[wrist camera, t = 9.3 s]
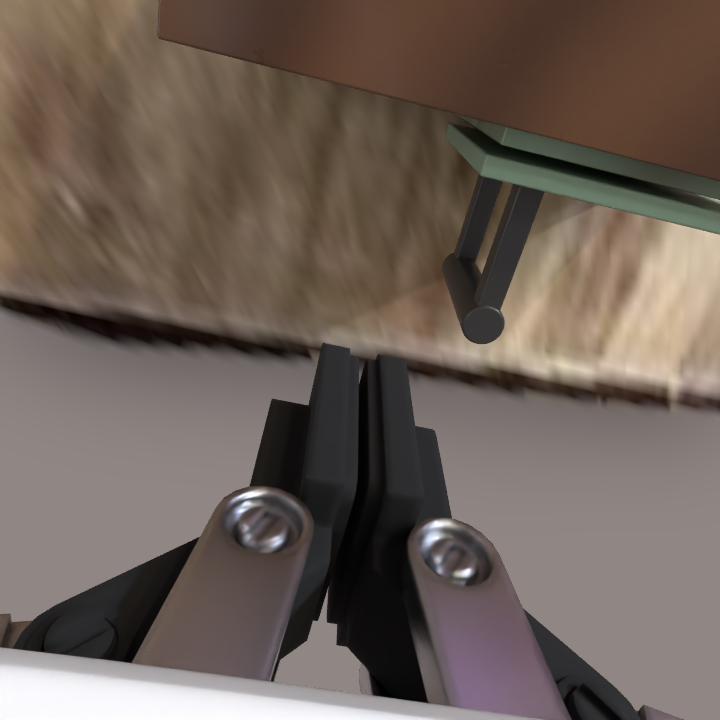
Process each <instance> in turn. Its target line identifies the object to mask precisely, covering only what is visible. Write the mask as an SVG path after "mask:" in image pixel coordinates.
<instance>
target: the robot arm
mask: <svg viewBox="0 0 720 720" xmlns="http://www.w3.org/2000/svg"><path fill="white" fill-rule="evenodd" d="M328 586H329V589H328ZM327 589H328V605H327V622H328V623H334V624H337V645H339V646H346V647H348V648H349V649H350V650H351V652H352V653H353V654H354V655H355V656H356V657H357V658H358V659H359V660H360V662H361V663H362V664H361V666H360V669H359V684H360V691H361V694H358V693H351V692H343V691H336V690H328V689H322V688H314V687H307V686H300V685H292V684H285V683H277V682H274V681H275V678H276V674H277V671H278V667H279V663H280V660H281V659H282V658H283V657H285V656H286V655H287V654H289V653H290V652H292V651H293V650H294V649H296V648H297V647H298V646H300V645H301V644H303V643H304V642H305V641H307V638H308V635H309V632H310V628H311V625H312V621H313V620H314V621H318V619H319V616H320V613H321V609H322V606H323V602H324V599H325V596H326V593H327ZM0 720H683V719H680V718H678V717H675V716H672V715H670V714H667V713H664V712H662V711H659V710H656V709H654V708H651V707H648V706H646V705H643V706H642V707H641V708H640V710H639V711H636V710H635V709H634V708H633V706H632V705H631V703H630V702H629V701H628V700H627V699H626V698H625V697H624V696H623V695H622V694H621V693H620V692H619V691H618V690H617V689H616V688H615V687H614V686H613V685H612V684H611V683H609V682H608V681H607V680H606V679H605V678H604V677H603V676H601V675H600V674H599V673H598V672H597V671H596V670H594V669H593V668H592V667H591V666H590V665H588V664H587V663H586V662H585V661H584V660H583V659H582V658H580V657H579V656H578V655H577V654H576V653H574V652H573V651H572V650H571V649H570V648H569V647H568V646H566V645H565V644H564V643H563V642H562V641H560V640H559V639H558V638H557V637H556V636H554V635H553V634H552V633H551V632H550V631H549V630H548V629H546V628H545V627H544V626H543V625H542V624H541V623H539V622H538V621H537V620H536V619H535V618H534V617H532V616H531V615H530V614H529V613H528V612H527V611H525V610H524V609H523V608H522V605H521V603H520V601H519V598H518V596H517V594H516V592H515V589H514V587H513V585H512V582H511V580H510V578H509V576H508V573H507V571H506V569H505V567H504V564H503V562H502V559H501V557H500V555H499V553H498V552H497V550H496V549H495V547H494V545H493V544H492V543H491V542H490V541H489V540H488V539H487V538H486V537H485V536H484V535H483V534H482V533H481V532H479V531H478V530H476V529H475V528H473V527H472V526H470V525H468V524H466V523H463V522H461V521H458V520H456V519H452V517H451V511H450V506H449V500H448V496H447V490H446V485H445V480H444V474H443V469H442V464H441V458H440V453H439V448H438V442H437V437H436V434H435V431H434V430H432V429H427V428H423V427H417V426H415V422H414V416H413V408H412V401H411V394H410V386H409V379H408V372H407V365H406V360H404V359H399V358H394V357H390V356H385V355H380V354H378V356H377V358H376V361H374V360H369V359H367V360H366V362H365V365H364V368H363V372H362V376H361V380H360V383H359V357H354V356H350V348H345V347H341V346H336V345H331V344H326V343H323V344H322V348H321V352H320V356H319V361H318V365H317V370H316V374H315V379H314V383H313V388H312V392H311V397H310V401H309V405H302V404H297V403H292V402H287V401H282V400H277V399H272V401H271V404H270V408H269V412H268V416H267V420H266V423H265V428H264V432H263V435H262V439H261V444H260V447H259V451H258V455H257V459H256V463H255V467H254V471H253V475H252V479H251V483H250V487H247V488H243V489H240V490H236V491H234V492H232V493H231V494H229V495H228V496H226V497H224V498H223V500H222V501H221V502H220V503H219V504H218V506H217V507H216V509H215V510H214V512H213V514H212V516H211V518H210V519H209V521H208V523H207V525H206V527H205V529H204V531H203V533H202V534H201V536H200V537H198V538H196V539H194V540H192V541H190V542H188V543H186V544H184V545H182V546H179V547H177V548H175V549H174V550H171V551H169V552H167V553H165V554H163V555H160V556H159V557H156V558H154V559H152V560H150V561H148V562H146V563H144V564H142V565H139V566H137V567H135V568H133V569H131V570H129V571H127V572H125V573H122V574H120V575H118V576H116V577H114V578H112V579H110V580H108V581H106V582H103V583H101V584H100V585H97V586H95V587H93V588H91V589H89V590H87V591H85V592H82V593H80V594H78V595H76V596H74V597H72V598H70V599H68V600H66V601H64V602H61V603H59V604H57V605H55V606H53V607H52V608H50V609H49V610H47V611H45V612H44V613H42V614H41V615H39V616H37V617H36V619H34V620H33V621H22V622H11V614H0Z"/></svg>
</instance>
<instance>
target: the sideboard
mask: <svg viewBox="0 0 720 720" xmlns="http://www.w3.org/2000/svg"><path fill="white" fill-rule="evenodd" d="M157 36H158V38H159V39H162V40H166V41H170V42H174V43H178V44H181V45H185V46H189V47H193V48H197V49H201V50H205V51H209V52H213V53H217V54H221V55H225V56H229V57H233V58H237V59H240V60H244V61H248V62H252V63H256V64H260V65H264V66H268V67H272V68H276V69H280V70H284V71H288V72H292V73H296V74H299V75H303V76H307V77H311V78H315V79H319V80H323V81H327V82H331V83H335V84H339V85H343V86H347V87H351V88H355V89H358V90H362V91H366V92H370V93H374V94H378V95H382V96H386V97H390V98H394V99H398V100H402V101H406V102H410V103H414V104H417V105H421V106H425V107H429V108H433V109H437V110H441V111H445V112H449V113H453V114H457V115H459V117H461V118H462V119H464V120H465V121H467V122H468V123H470V124H471V125H473V126H474V127H476V128H477V129H479V130H480V131H482V132H483V133H485V134H486V135H488V136H489V137H491V138H492V139H494V140H495V141H497V142H498V143H500V144H501V145H503V146H507V147H511V148H515V149H519V150H523V151H527V152H531V153H535V154H539V155H543V156H547V157H551V158H555V159H559V160H563V161H567V162H571V163H575V164H579V165H583V166H587V167H591V168H595V169H599V170H603V171H607V172H611V173H615V174H619V175H623V176H627V177H631V178H635V179H639V180H643V181H647V182H651V183H655V184H659V185H663V186H667V187H671V188H675V189H679V190H682V191H686V192H690V193H694V194H698V195H702V196H706V197H710V198H714V199H718V200H720V0H159V14H158V33H157Z"/></svg>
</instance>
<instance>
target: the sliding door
mask: <svg viewBox="0 0 720 720" xmlns="http://www.w3.org/2000/svg"><path fill="white" fill-rule="evenodd" d="M445 137H446V139H447V140H448V141H449V142H450V143H451V144H452V145H453V146H454V147H455V149H456V150H457V151H458V152H459V153H460V154H461V155H462V156H463V157H464V158H465V159H466V160H467V161H468V162H469V164H470V165H471V166H472V167H473V168H474V169H475V170H476V171H477V172H478V173H479V176H478V179H477V182H476V185H475V189H474V192H473V195H472V198H471V201H470V204H469V208H468V211H467V214H466V217H465V220H464V223H463V227H462V230H461V233H460V236H459V239H458V242H457V245H456V249H455V252H454V253H452V254H450V255H449V256H448V257H447V258H446V259H445V260H444V262H443V266H442V272H443V275H444V278H445V281H446V284H447V287H448V290H449V293H450V296H451V299H452V302H453V305H454V308H455V311H456V314H457V317H458V319H459V322H460V325H461V328H462V331H463V334H464V336H465V337H466V338H467V339H468V340H469V341H471V342H473V343H476V344H487V343H490V342H492V341H494V340H496V339H497V338H498V337H499V336H500V335H501V333H502V331H503V329H504V323H505V322H504V317H503V315H502V313H501V311H500V309H501V307H502V304H503V301H504V299H505V296H506V293H507V291H508V288H509V285H510V283H511V280H512V277H513V275H514V272H515V269H516V267H517V264H518V261H519V259H520V256H521V253H522V251H523V248H524V245H525V243H526V240H527V237H528V235H529V232H530V229H531V227H532V224H533V221H534V219H535V216H536V213H537V211H538V208H539V205H540V203H541V200H542V197H543V195H544V192H548V193H552V194H556V195H560V196H565V197H569V198H573V199H577V200H581V201H585V202H589V203H593V204H597V205H601V206H605V207H609V208H614V209H618V210H622V211H626V212H630V213H634V214H638V215H642V216H646V217H650V218H654V219H658V220H663V221H667V222H671V223H675V224H679V225H683V226H687V227H691V228H695V229H699V230H703V231H707V232H711V233H716V234H720V201H718V200H715V199H713V198H710V197H706V196H702V195H698V194H694V193H690V192H686V191H682V190H679V189H675V188H671V187H667V186H663V185H659V184H655V183H651V182H647V181H643V180H639V179H635V178H631V177H627V176H623V175H619V174H615V173H611V172H607V171H603V170H599V169H595V168H591V167H587V166H583V165H579V164H575V163H571V162H567V161H563V160H559V159H555V158H551V157H547V156H543V155H539V154H535V153H531V152H527V151H523V150H519V149H515V148H511V147H507V146H503V145H501V144H500V143H498V142H497V141H495V140H494V139H492V138H491V137H489V136H488V135H486V134H485V133H483V132H482V131H480V130H476V129H472V128H468V127H464V126H460V125H456V124H452V123H450V124H449V126H448V129H447V133H446V136H445ZM502 182H507V183H511V184H513V186H512V189H511V192H510V195H509V197H508V200H507V203H506V206H505V209H504V212H503V215H502V218H501V221H500V223H499V226H498V229H497V232H496V235H495V238H494V241H493V244H492V247H491V249H490V252H489V255H488V258H487V261H486V264H485V267H484V270H483V272H482V274H481V272H480V270H479V268H478V266H477V264H476V259H477V256H478V253H479V250H480V247H481V244H482V241H483V238H484V235H485V232H486V229H487V226H488V223H489V220H490V217H491V214H492V211H493V208H494V205H495V202H496V199H497V196H498V193H499V190H500V187H501V184H502Z"/></svg>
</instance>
